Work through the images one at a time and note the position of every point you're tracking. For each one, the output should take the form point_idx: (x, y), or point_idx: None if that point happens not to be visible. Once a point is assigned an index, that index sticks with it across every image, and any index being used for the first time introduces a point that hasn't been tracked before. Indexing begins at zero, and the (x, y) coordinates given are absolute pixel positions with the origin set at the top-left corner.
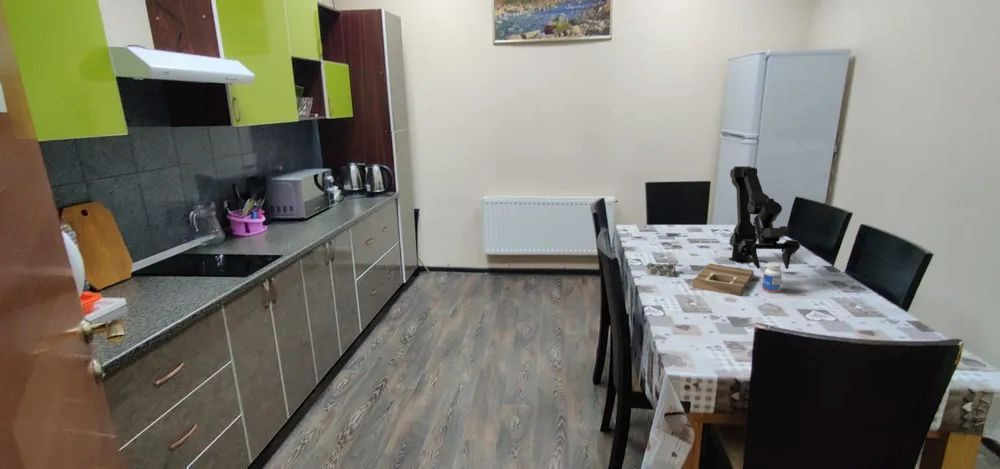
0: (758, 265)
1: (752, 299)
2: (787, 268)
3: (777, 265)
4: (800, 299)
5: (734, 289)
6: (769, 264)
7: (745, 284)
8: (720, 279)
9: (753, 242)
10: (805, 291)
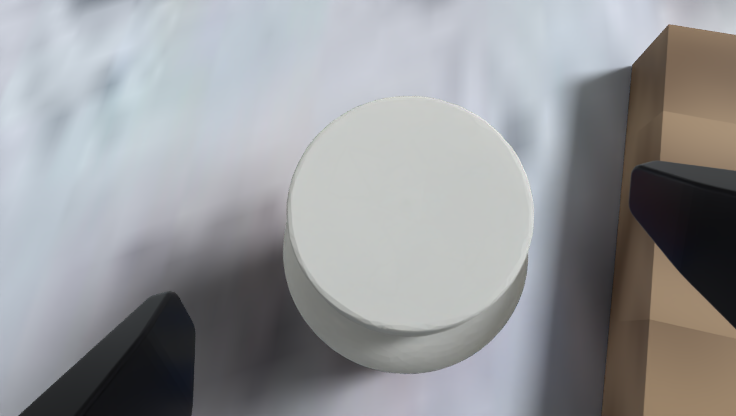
0: (677, 168)
1: (539, 33)
2: (172, 304)
3: (349, 144)
4: (188, 147)
5: (720, 41)
6: (496, 153)
7: None
8: None
9: None
10: None
